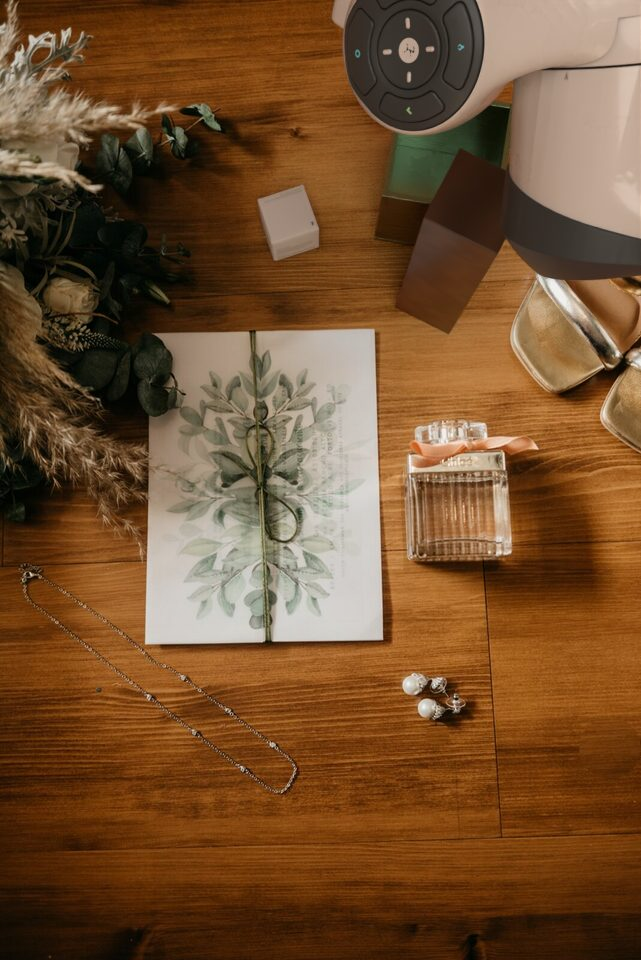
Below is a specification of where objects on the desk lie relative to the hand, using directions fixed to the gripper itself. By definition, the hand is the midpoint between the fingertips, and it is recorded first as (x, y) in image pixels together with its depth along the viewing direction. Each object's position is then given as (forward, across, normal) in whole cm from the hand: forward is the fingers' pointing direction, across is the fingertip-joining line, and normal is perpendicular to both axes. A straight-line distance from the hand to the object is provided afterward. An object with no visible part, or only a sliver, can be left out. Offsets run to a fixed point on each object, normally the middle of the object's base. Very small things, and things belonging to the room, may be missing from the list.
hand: (496, 10), depth 56 cm
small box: (+12, +13, +29) cm, 34 cm away
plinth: (+13, -5, +28) cm, 32 cm away
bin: (+20, 0, +21) cm, 29 cm away
